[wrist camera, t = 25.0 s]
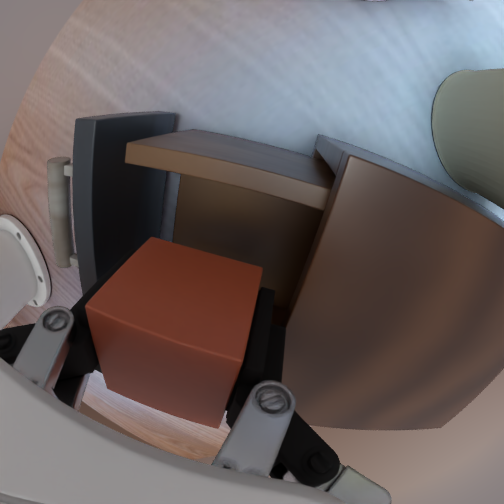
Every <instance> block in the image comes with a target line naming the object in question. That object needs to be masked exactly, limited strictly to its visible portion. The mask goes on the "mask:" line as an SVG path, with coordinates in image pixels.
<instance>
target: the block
mask: <svg viewBox="0 0 504 504" xmlns="http://www.w3.org/2000/svg"><path fill="white" fill-rule="evenodd" d="M262 272H263V268H262V267H259V266H255V265H251V264H248V263H244V262H240V261H237V260H233V259H230V258H226V257H222V256H219V255H215V254H212V253H208V252H204V251H201V250H197V249H194V248H190V247H187V246H183V245H180V244H176V243H173V242H169V241H166V240H162V239H159V238H155V237H151V238H150V239H148V240H147V241H146V242H145V243H144V244H143V245H142V246H141V247H140V248H139V249H138V250H137V251H136V252H135V253H134V254H133V255H132V256H131V257H130V258H129V259H128V260H127V261H126V262H125V263H124V264H123V265H122V266H121V267H120V268H119V269H118V270H117V271H116V272H115V274H114V275H113V276H112V277H111V278H110V279H109V280H108V281H107V282H106V283H105V284H104V285H103V286H102V287H101V288H100V289H99V290H98V292H97V293H96V294H95V295H94V296H93V297H92V298H91V299H90V300H89V301H88V303H87V304H86V305H85V309H86V313H87V318H88V322H89V327H90V331H91V335H92V339H93V343H94V346H95V350H96V354H97V357H98V360H99V364H100V367H101V370H102V373H103V377H104V380H105V383H106V385H107V388H108V389H109V390H112V391H114V392H116V393H118V394H120V395H123V396H125V397H127V398H129V399H132V400H134V401H137V402H139V403H141V404H144V405H146V406H149V407H152V408H154V409H157V410H160V411H162V412H165V413H168V414H171V415H174V416H177V417H180V418H183V419H186V420H189V421H192V422H196V423H199V424H202V425H206V426H209V427H213V428H219V426H220V424H221V421H222V418H223V416H224V413H225V410H226V407H227V405H228V402H229V399H230V396H231V394H232V391H233V388H234V385H235V382H236V380H237V377H238V374H239V371H240V368H241V365H242V363H243V359H244V355H245V350H246V346H247V341H248V337H249V332H250V327H251V323H252V318H253V314H254V309H255V304H256V300H257V295H258V291H259V286H260V281H261V276H262Z"/></svg>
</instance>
